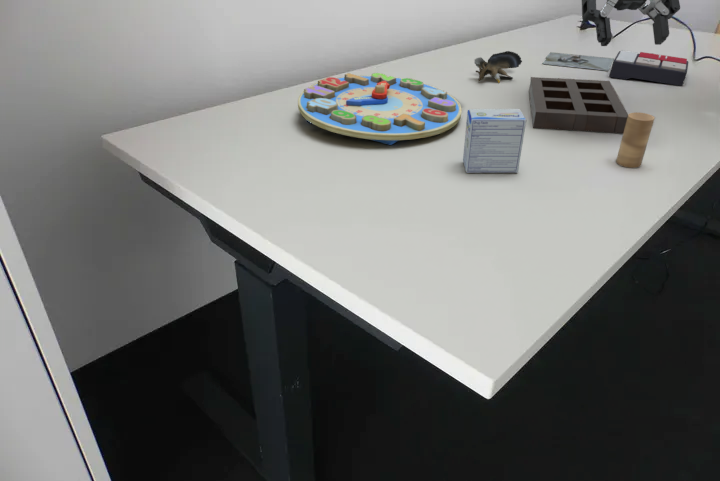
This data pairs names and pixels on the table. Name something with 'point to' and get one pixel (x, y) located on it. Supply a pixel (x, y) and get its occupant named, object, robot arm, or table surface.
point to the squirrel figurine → (497, 64)
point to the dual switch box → (649, 67)
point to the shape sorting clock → (379, 107)
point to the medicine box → (493, 140)
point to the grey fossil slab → (579, 61)
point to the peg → (635, 139)
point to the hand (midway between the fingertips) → (633, 43)
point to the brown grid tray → (576, 105)
